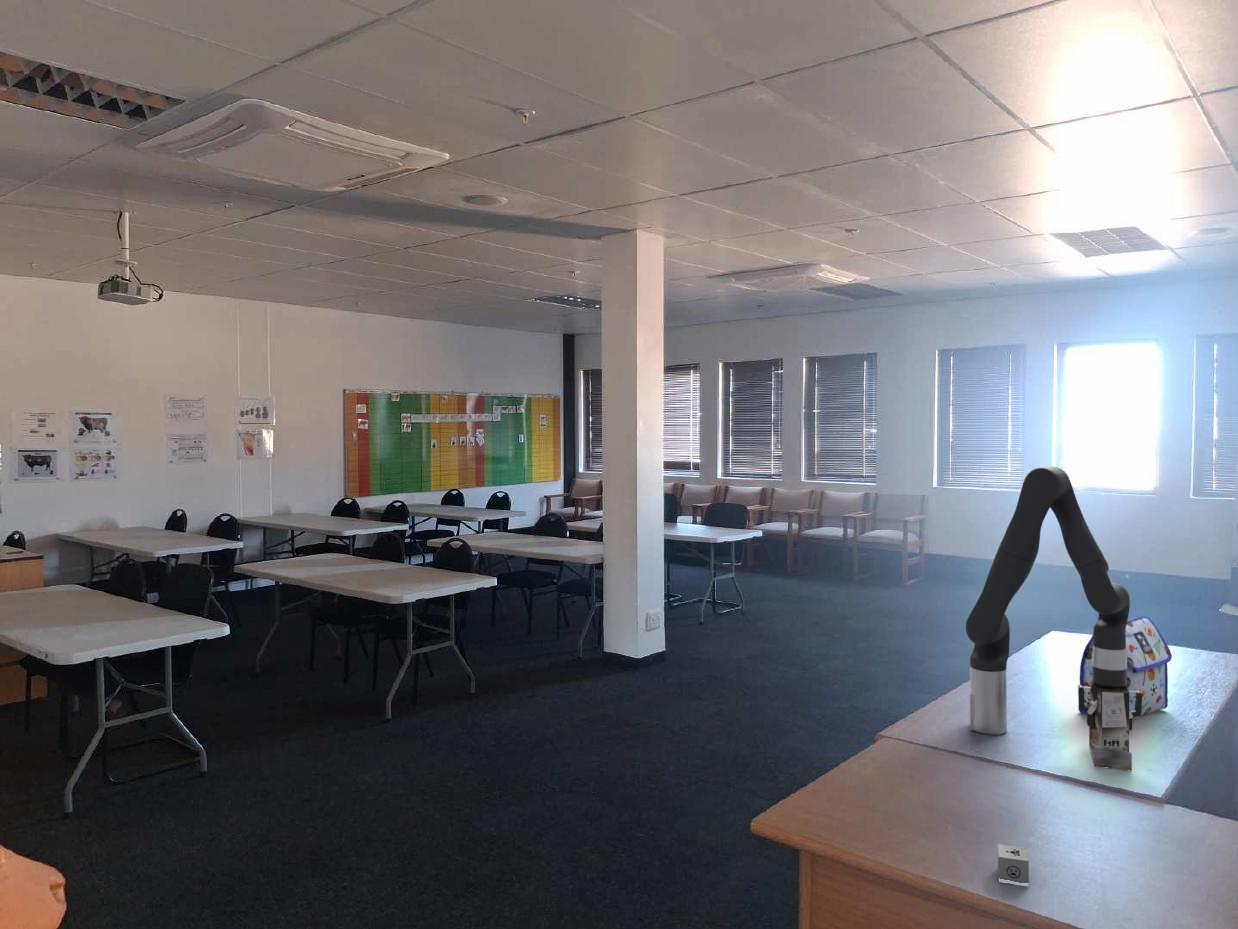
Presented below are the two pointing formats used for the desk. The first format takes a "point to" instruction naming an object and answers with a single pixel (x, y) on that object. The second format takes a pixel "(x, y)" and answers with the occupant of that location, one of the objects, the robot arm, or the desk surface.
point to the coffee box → (1111, 719)
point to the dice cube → (1013, 863)
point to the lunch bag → (1138, 665)
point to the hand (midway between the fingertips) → (1109, 730)
